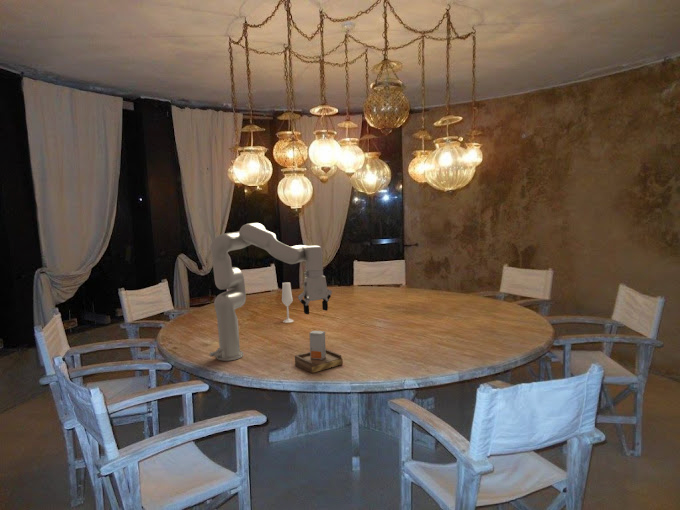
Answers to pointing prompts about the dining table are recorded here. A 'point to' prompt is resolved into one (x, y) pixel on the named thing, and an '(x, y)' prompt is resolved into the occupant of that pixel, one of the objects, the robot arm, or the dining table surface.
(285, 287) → the champagne flute
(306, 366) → the wooden tray
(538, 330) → the dining table surface
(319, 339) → the skincare box
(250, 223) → the robot arm
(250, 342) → the dining table surface
